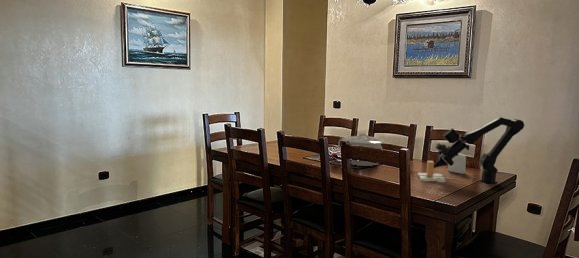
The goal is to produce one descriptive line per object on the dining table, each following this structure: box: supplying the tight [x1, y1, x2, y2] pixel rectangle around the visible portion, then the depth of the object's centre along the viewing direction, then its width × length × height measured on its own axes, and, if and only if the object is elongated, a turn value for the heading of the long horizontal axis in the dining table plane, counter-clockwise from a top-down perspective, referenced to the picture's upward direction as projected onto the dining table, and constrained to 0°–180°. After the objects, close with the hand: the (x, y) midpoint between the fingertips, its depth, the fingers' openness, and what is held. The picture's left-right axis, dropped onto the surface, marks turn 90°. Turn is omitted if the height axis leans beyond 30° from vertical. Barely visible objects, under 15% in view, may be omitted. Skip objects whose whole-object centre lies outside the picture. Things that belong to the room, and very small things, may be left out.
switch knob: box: [425, 160, 435, 177], centre depth 229 cm, size 3×4×9 cm, turn 170°
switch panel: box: [417, 172, 446, 183], centre depth 230 cm, size 13×14×2 cm
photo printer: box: [447, 152, 467, 175], centre depth 246 cm, size 10×4×12 cm, turn 39°
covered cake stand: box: [338, 133, 386, 167], centre depth 261 cm, size 28×28×21 cm
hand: (433, 167), depth 229 cm, fingers closed, pressing on switch knob
